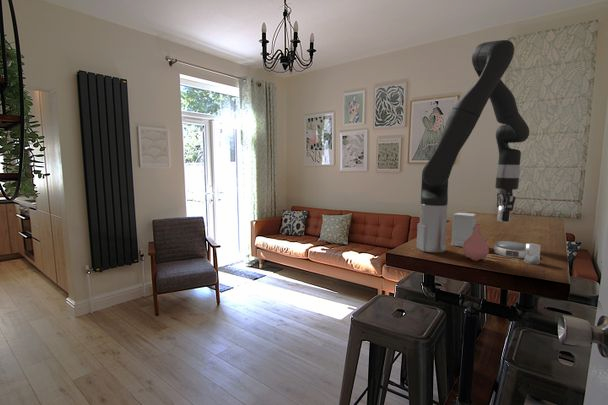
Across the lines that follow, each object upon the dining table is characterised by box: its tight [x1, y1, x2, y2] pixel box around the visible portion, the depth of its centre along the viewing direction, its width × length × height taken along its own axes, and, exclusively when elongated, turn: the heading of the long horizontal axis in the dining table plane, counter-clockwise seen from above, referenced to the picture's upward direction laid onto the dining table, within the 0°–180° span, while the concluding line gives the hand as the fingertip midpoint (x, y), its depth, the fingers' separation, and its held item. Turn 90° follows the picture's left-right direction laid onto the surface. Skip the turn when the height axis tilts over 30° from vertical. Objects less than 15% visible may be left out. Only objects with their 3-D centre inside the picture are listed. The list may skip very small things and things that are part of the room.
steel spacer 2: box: [523, 242, 541, 265], centre depth 103 cm, size 4×4×6 cm
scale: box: [493, 240, 526, 259], centre depth 113 cm, size 11×11×3 cm
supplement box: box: [451, 212, 477, 248], centre depth 125 cm, size 7×7×13 cm
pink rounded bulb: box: [462, 223, 490, 262], centre depth 105 cm, size 8×8×12 cm
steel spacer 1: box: [496, 206, 511, 223], centre depth 123 cm, size 4×4×6 cm
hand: (503, 220), depth 123 cm, fingers closed on steel spacer 1, 4 cm apart
